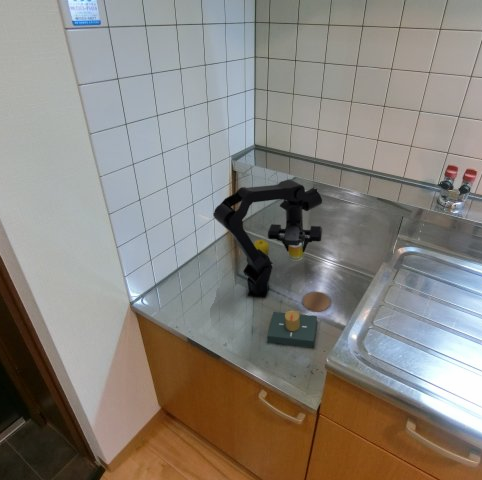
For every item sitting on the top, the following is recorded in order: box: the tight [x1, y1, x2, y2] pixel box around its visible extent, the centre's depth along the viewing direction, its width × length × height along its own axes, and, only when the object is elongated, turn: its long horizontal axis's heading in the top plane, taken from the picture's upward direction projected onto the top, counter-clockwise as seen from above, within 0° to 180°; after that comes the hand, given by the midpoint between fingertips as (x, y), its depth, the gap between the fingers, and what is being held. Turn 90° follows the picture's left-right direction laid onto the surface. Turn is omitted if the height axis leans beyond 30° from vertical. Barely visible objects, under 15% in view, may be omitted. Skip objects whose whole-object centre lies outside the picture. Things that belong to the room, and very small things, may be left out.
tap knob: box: [285, 309, 300, 331], centre depth 114 cm, size 4×4×5 cm
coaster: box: [302, 291, 331, 313], centre depth 127 cm, size 9×9×1 cm
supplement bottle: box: [288, 242, 304, 262], centre depth 135 cm, size 5×5×10 cm
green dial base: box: [267, 311, 318, 348], centre depth 116 cm, size 14×10×3 cm
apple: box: [253, 238, 270, 256], centre depth 148 cm, size 6×6×8 cm
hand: (295, 251), depth 136 cm, fingers closed on supplement bottle, 5 cm apart
